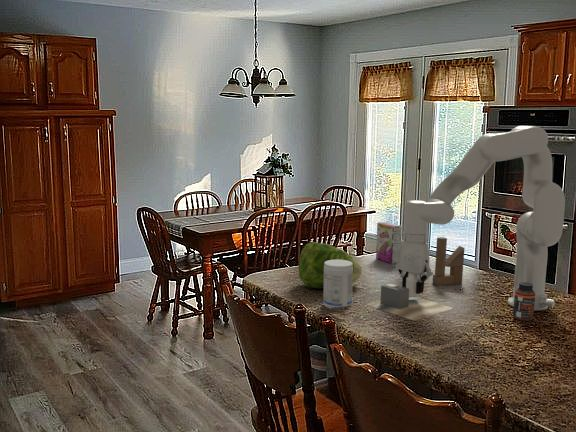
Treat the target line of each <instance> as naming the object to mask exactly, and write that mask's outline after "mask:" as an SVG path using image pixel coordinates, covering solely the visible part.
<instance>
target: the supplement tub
mask: <svg viewBox="0 0 576 432" xmlns="http://www.w3.org/2000/svg"><path fill="white" fill-rule="evenodd" d="M353 283H354V282H353V263H352V262H350V261H347V260H338V259H336V260H328V261H325V263H324V288H322V289H323V294H322V295H323V305H324V307H325V308H327V309H334V308H345V307H346V308H347V307H350V306H351V305H353V285H354V284H353Z"/></svg>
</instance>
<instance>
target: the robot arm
mask: <svg viewBox="0 0 576 432" xmlns="http://www.w3.org/2000/svg"><path fill="white" fill-rule="evenodd" d="M548 143H549V135H548V133H547V132H546V129H545V130H544V128H542V127H540V126H534V125H518V126H516V127H514V128H512V129H511V130H510V131H508V132H502V133H485V134H482V135H480V136H479V137H478V139H477V140H476V141H474V143H473V144H472V146H471V147H470V149H469V150H468V151H467V153H466V154H465V155H464V157H463V158H462V159H461V160H460V162H459V163H458V165H457V166H456V167H455V168H454V170H452V171H451V172H450V173H449V174H448V175H447V176H446V177H445V179H443V180H442V181H441V182H440V183H439V184H438V186H437V187H436V188H435V189H434V190H433V192H432V193H431V195H430V196H429V197H428V199H427V200H426V201H425V200H421V199H420V200H419V199H416V200H415V199H414V200H407V201H406V202H405V205H404V217H403V218H404V221H403V222H404V223H403V231H401V237H403V239H401V244H400V248H399V254H398V262H397V263H395V264H394V265H395V266H394V267H395V268H396V269H397V270H398V272H399V274H400V278H402V282H401V287H405V288H406V278H407V277H409V274H408V273H409V272H411V273H415V274H417V278H418V282H417V283H416V294H419V295H420V294H423V293H424V290H425V282H427V280H428V279H429V278H430V277H433V275H434V272H433V271H432V269H431V267H430V246H429V243H428V242H427V240H428V224H433V225H440V226H441V225H442V226H443V225H448V224H450V223H451V222H452V220H453V219H454V217H455V210H454V208H453V206H452V203H453V202H454V201H455V200H456V199H457V198H458V197H459V196H460V195H461V194H462V193H464V192H465V191H468V190H469V189H471V188H474V187H475V186H477V185H478V183H480V181H481V180H482V178H483V177H484V176H485V174H486V173H487V171H488V170H489V169H490V168H491V167H492V165H493V164H494V162H503V161H509V160H515V159H520V158H522V161H523V181H522V192H521V195H522V196H521V198H522V200H523V203H524V204H525V205H527V206H528V207H529V208H532V211H527V212H525V213H523V214H522V215H520V217H519V218H518V220H517V222H516V226H515V233H516V234H515V235H516V255H515V256H516V257H515V267H514V280H513V292H512V296H511V297H509V298H508V299H507V304H508V305H510V306H511V307H513V308H514V297H515V291H516V289H518V288H519V283H520V282H527V283H531V284H533V289H532V290H533V291H534V292H535V304H534V311H538V312H539V311H545V310H547V309H548V308H550V307H551V308H554V307H555V306H556V303H555V300H554V299H549V298H548V294H547V293H545V290H546V288H545V287H546V277H547V266H548V254H549V253H548V247H552V246H554V245H556V244H557V243H558V242H559V240H561V237H562V235H563V230H564V221H565V207H566V197H565V194H564V193H565V192H564V190H563V189H562V188H561V186H560V185H559V184H557V183H555V182H553V164H554V163H553V157H552V153H551V150H550V149H549V147H548Z"/></svg>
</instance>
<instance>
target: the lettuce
mask: <svg viewBox="0 0 576 432" xmlns="http://www.w3.org/2000/svg"><path fill="white" fill-rule="evenodd" d="M336 259H338V260H347V261H350V262H352V263H353V283H354V282H356V281H358V280H359V278H360V277H361V276H362V273H363V272H362V270H363V269H362V265H361V264H360V263H359V261H357V260H356V259H355V258H353V256H351V255H350V254H349V253H348V252H346V251H344V250H343V249H340V248H338V247H335V246H333V245H332V244H328V243H325V242H323V243H322V242H317V241H316V242H315V241H311V242H309V243H307V244H305V245H304V247H303V248H302V249H301V253H300V256H299V260H298V277H299V279H300V281H301V282H302V283H303V284H304V285H305V286H306V287H310V288H311V289H323V288H324V263H325V261H328V260H336Z"/></svg>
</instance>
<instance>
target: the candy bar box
mask: <svg viewBox="0 0 576 432" xmlns="http://www.w3.org/2000/svg"><path fill="white" fill-rule="evenodd" d="M402 227H403V226H401V225H398V224H394V223H390V222H386V221H382V222H381V221H380V222H377V226H376V247H375V249H376V250H375V251H376V252H375V259H377V260H380V261H383V262H386V263H388V264H390V265H391V264H392V265H396V264H397V262H398V254H399V248H400V244H401V241H402V229H403V228H402Z"/></svg>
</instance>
